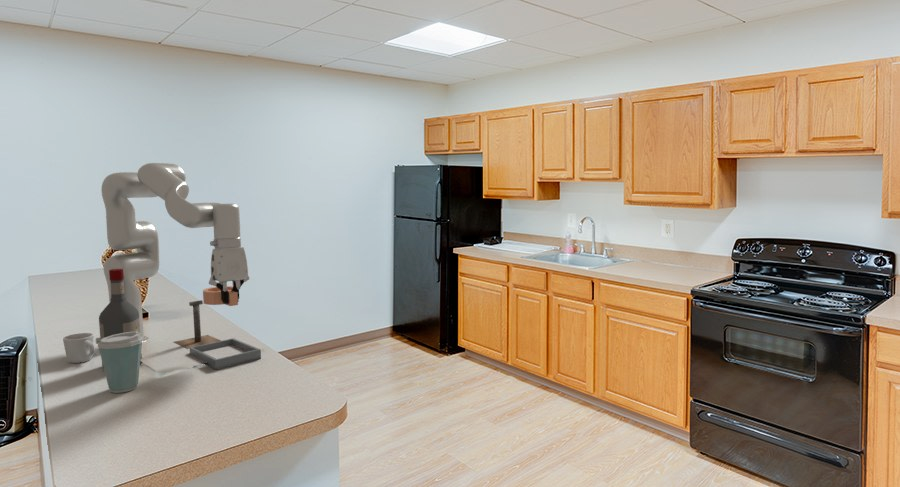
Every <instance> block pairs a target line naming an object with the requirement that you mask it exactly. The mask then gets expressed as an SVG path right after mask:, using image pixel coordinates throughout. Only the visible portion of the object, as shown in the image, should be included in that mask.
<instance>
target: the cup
mask: <svg viewBox="0 0 900 487" xmlns="http://www.w3.org/2000/svg"><path fill="white" fill-rule="evenodd" d="M62 341H63V346H64V351H65V356H66V360H67V362H68V363H70V362H71V364H80V362H81V363H85V362H88V361H90V360H91V359H92V358H93V355H94V354H95V345H94V333H91V332H81V333H79V332H78V333H73V334H69V335H67V336H64V337H63V339H62Z"/></svg>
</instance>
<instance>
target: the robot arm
mask: <svg viewBox="0 0 900 487" xmlns="http://www.w3.org/2000/svg"><path fill="white" fill-rule="evenodd" d="M186 178H187V177H186V173H185V172H184V170H183V169H182V167H180V166H179V165H178V164H176V163H162V162H161V163H160V162H149V163H146V164H143V165H142V166H140V168H138V170H137V172H132V171H128V172H127V171H125V172H122V171H121V172H113V173H111V174H108V175H107V176H106V177H104V179H103V180H102V183H101V190H100V191H101V196H102V201H103V203H104V206H105V207H104V208H105V213H106V214H105V218H106V220H105V221H106V238H107V239H106V240H107V244H108V246H109V247H110V248H111V249H112V250H113V251H128V250H136V252H128V253H121V254H116V255H112V256H110V257H108V258H107V259H106V260H105V262H104V263H103V274H104V276H105V280H106V284H107V290H108V301H109V303H110V302H111V301H110V299H111V281H110V276H109V270H111V269H123V274H124V279H123V282H124V294H125V297H126V300H127V301H128V302H129V303H130V304H132V305H133V306H134V307H135V308H136V309H137V310H138V312H139V323H140V336H141V337H142V338H143V342H142V343H144V342H147V341H148V340H149V337H148V336H145V335H144V322H143V321H144V320H143V319H144V318H143V306H142V305H143V304H142V293H141V290H140V288H139V286H138V285H137V284H136V283H135V281H137V280H143V279H147V278H148V279H149V278H151V277H153V276H155V275H156V274H157V273H158V271H159V268H160V248H159V247H160V246H159V234H158V230H157V229H156V227H155V225H154V224H152V222H149V221H145V220H143V221H142V220H139V221H137V220H136V209H135V208H134V205H133V204H132V202H131V201H130V200H129V199H132V198H134V199H136V198H137V199H138V198H139V199H140V198H142V199H143V198H145V199H147V198H157V197H158V198H160V199H161V200H163V201H164V206H165V209H166V212H167V213H168V216H170V217H171V218H172V219H173V220H174V221H176V222H177V223H179V225H182V226H184V227H186V228H189V229H197V228H199V229H200V228H211V227H213V240H212V241H211V240H210V241H209V245H210V247H211V246H213V248H212V252H211V259H210V278H209V280H208V284H209V285H210V286H212V287H217V288H218V289H219V290H221V300H222V301H223V303H225V304H229V291H227V286H228V283H227V282H232V286H233V289H231V291H234V292H237V293H238V303H239V301H240V300H239V299H240V289H241V287H242V286H243V285H244V284H245V283H246V282H247V281H249V280H250V277H249V267H248V261H247V260H248V259H247V254H246V251H245V248H244V246H243V247H242V239H241V224H240V223H241V222H240V221H241V220H240V207H239V206H238V204H236V203H219V202H194V203H193V202H189V201H187V200H186V199H187V198H188V196H189V192H190V187H189V185H188V184H187V182H186ZM225 304H224V305H225ZM99 341H100V336H99V337H96V338H95V344H97V345H98V342H99Z"/></svg>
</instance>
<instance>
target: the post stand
mask: <svg viewBox="0 0 900 487" xmlns="http://www.w3.org/2000/svg"><path fill="white" fill-rule="evenodd" d="M188 304H189V305H188V306H190V307H192V312H193V313H192V314H193V329H194V337H191V338H186V339H185V338H184V339H182V340H181V339H180V340H176V341H173V343H174V344H177V345H179V346H180V347H182V348H184V349H187V350H190V348H191V347H195V346H200V345H205V344H209V343H214V342H219V341H222V340H221V339H219V338H216V337H214V336H212V335H209V334H205V335H202V332H201V330H202V329H201V313H200V311H201V310H200V308H201V307H200V305H201V306H202V305H203V304H204V302H203V299H202V300H201V299H200V300H196V301H195V300H194V301H189V303H188Z"/></svg>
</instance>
